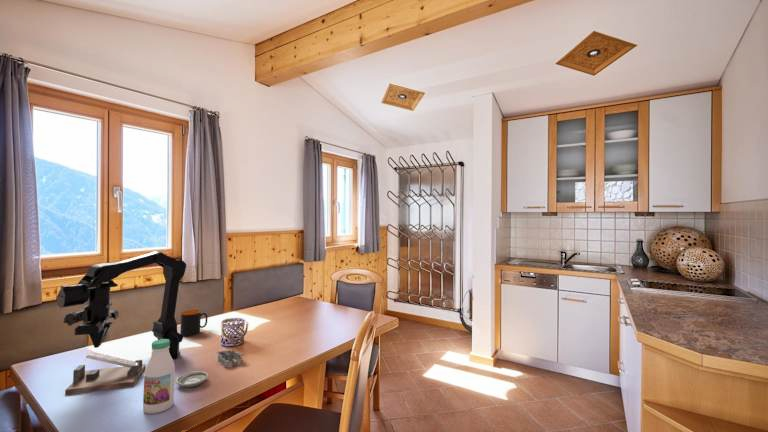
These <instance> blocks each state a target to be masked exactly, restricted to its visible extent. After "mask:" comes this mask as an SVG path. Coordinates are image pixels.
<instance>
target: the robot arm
mask: <svg viewBox="0 0 768 432" xmlns="http://www.w3.org/2000/svg"><path fill="white" fill-rule="evenodd" d="M154 264H156V265H158V266H159V267H161V268H162V275H163V276H164V277H163V278H164V280H165V283H164V290H163V291H164V292H163V297H162V304H161V311H160V312H161V313H160V317H159V318H158V320H157V321H156V320H154V321H153V323H152V324H153V325H152V326H153V327H152V330H151V333H153V334H152V335H153V336H154V338H156V340H160V339H169V340H170V347H169V353H170V355H171V357H172V359H173V360H174V359H175V360H176V359H178V357H179V355H180V353H181V351H180V343H181V342H183V339H184V337H183V336H182V335H181V334H180V333H179V332H178V323H177V320H176V317H175V316H176V310H177V302H178V294H179V287H180V281H181V280H182V279H183V277H184V275H185V273H186V271H187V263H186V262H185V261H184V260H181V259H176V258H173V257H171V256H169V255H167V254H165V253H164V252H162V251H152V252H149V253H145V254H142V255H138V256H134V257H132V258H127V259H124V260H121V261H116V262H103V263H96V264H93V265H91V266H89V267H88V269H87V270H86V274H85V275H84V276H83V277H82V278H81V279H80V280H79V282H78V283H77V284H71V285H69V284H68V285H61V286H60V290H58V293H57V295H56V303H57V306H58V307H59V308H62V309H63V308H68V307H72V306H73V307H74V306H79V305H80V306H81V305H84V304H85V303H87V305H85V307H84V309H82V310H78V311H76V312H74V311H71V312H70V313H66V314H65V316H64V317H63V323H64V324H67V327H71V326H73V325H75V324H78V323H80V322H82V323H81V324H79V325H78V326H77V327H75V328H74V330H73V331H74V333H73V334H74V336H82V335H88V336H89V338H90V340H91V342H92V345H93V348H95V349H96V348H97V349H98V348H99V347H101V346H102V344H103V341H104V340H105V338H106V336H107V334H108V332H109V330H111V329H110V328H111V327H112V325H113V324H114V322H113V321H110V322H109V319H112V318H113V320H117V319H119V317H120V312H119V311H118V310H117V309H114V310H113V309H111V308H110V306H112V305H113V302H112V301H111V288H115V287H118V286H119V284H117V283H116V282H114V279H116V278H118V277H119V276H121V275H122V274H124V273H127V272H130V271H134V270H137V269H140V268H143V267H147V266H150V265H154ZM110 309H111V310H110Z"/></svg>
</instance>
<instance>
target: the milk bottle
mask: <svg viewBox="0 0 768 432" xmlns="http://www.w3.org/2000/svg"><path fill="white" fill-rule="evenodd" d="M169 347H170V340H169V339H160V340H158V339H156V340H153V341H152V343H151V352H152V353H151V356H150V358H149V360H148V362H147V363H146V368H145V370H144V378H143V396H142V397H143V398H142V399H143V401H142V411H143V412H144V413H145V414H148V415H149V414H150V415H154V414H160V413H162V412H163V413H164V412H165V411H168V410H169V409H171V408H172V406H173V405H174V404H175V403H174V401H175V400H174V398H175V380H176V379H175V377H176V375H175V374H176V372H175V370H176V369H175V367H176V366H175V362H174V359H172V357H171V355H170V353H169Z"/></svg>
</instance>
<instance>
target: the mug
mask: <svg viewBox="0 0 768 432" xmlns="http://www.w3.org/2000/svg"><path fill="white" fill-rule="evenodd" d="M203 315H204V317H205V322H204V324H203V325H201V318H202V316H203ZM207 325H208V314H207V313H206V312H201V310H197V309H193V310H186V311H182V312H181V314H180V330H179V331H180V333H179V334H181V335H182V336H183V338H189V337H190V338H191V337H194V336H198V335H199V334H201V329H203V328H205V327H206V326H207Z"/></svg>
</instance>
